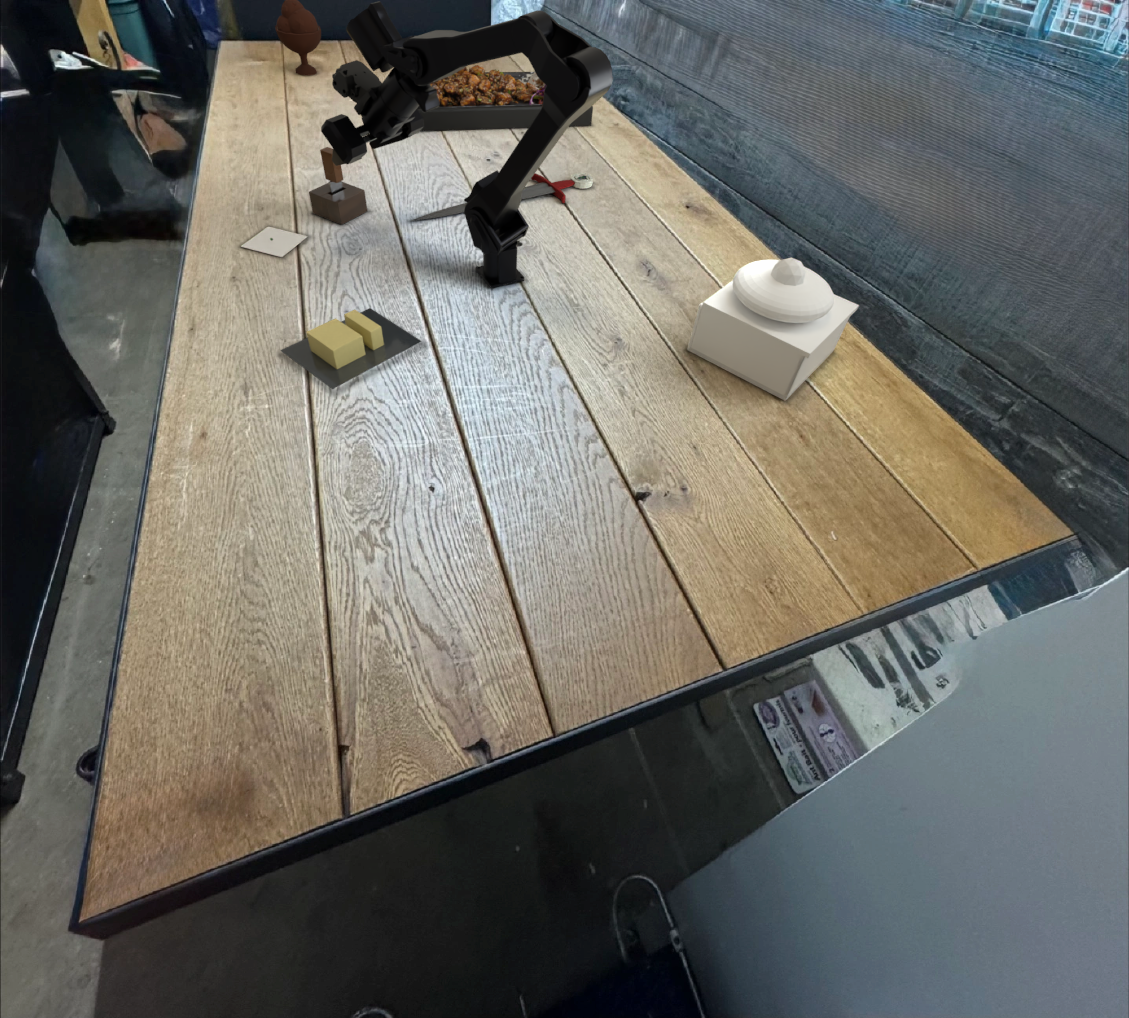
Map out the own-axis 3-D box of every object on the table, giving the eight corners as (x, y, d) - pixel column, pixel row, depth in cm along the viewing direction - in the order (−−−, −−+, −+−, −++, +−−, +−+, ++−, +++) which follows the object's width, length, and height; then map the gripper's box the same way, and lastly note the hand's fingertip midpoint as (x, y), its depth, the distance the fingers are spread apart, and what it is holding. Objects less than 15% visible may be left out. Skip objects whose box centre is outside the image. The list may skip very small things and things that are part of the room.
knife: (351, 211, 123) (340, 149, 115) (340, 217, 121) (329, 154, 113) (340, 207, 124) (329, 145, 115) (330, 212, 122) (317, 150, 114)
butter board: (370, 312, 103) (369, 307, 102) (422, 345, 98) (421, 341, 98) (281, 354, 94) (280, 350, 93) (333, 393, 90) (332, 388, 89)
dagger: (394, 194, 129) (393, 186, 128) (583, 175, 142) (583, 167, 141) (409, 222, 122) (408, 213, 121) (606, 199, 135) (607, 191, 134)
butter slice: (358, 327, 98) (354, 309, 96) (384, 345, 96) (381, 326, 94) (347, 332, 97) (343, 314, 95) (373, 350, 95) (370, 331, 93)
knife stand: (367, 211, 124) (364, 189, 121) (341, 225, 120) (337, 203, 116) (339, 200, 126) (335, 178, 123) (312, 213, 121) (308, 191, 118)
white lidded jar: (740, 307, 112) (769, 216, 100) (836, 352, 106) (880, 261, 94) (686, 350, 103) (711, 255, 91) (788, 403, 96) (830, 308, 84)
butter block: (339, 336, 97) (335, 318, 94) (365, 354, 94) (362, 335, 92) (310, 350, 94) (305, 331, 92) (337, 369, 92) (332, 350, 89)
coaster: (308, 236, 116) (307, 232, 115) (281, 257, 111) (280, 252, 110) (268, 226, 117) (267, 222, 116) (240, 246, 112) (239, 242, 111)
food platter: (561, 90, 176) (564, 44, 168) (591, 125, 161) (596, 77, 153) (391, 93, 164) (386, 44, 156) (407, 131, 149) (402, 80, 142)
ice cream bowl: (275, 74, 166) (259, 1, 155) (299, 62, 173) (286, -9, 162) (313, 81, 165) (299, 9, 154) (335, 69, 172) (324, -1, 161)
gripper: (403, 34, 103) (359, 94, 115) (317, 60, 92) (279, 124, 104) (446, 102, 107) (400, 154, 119) (368, 135, 96) (326, 189, 108)
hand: (353, 154), depth 112 cm, fingers open, 9 cm apart
